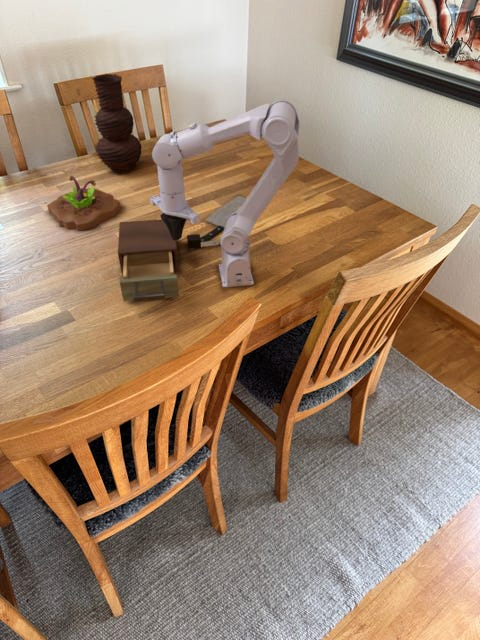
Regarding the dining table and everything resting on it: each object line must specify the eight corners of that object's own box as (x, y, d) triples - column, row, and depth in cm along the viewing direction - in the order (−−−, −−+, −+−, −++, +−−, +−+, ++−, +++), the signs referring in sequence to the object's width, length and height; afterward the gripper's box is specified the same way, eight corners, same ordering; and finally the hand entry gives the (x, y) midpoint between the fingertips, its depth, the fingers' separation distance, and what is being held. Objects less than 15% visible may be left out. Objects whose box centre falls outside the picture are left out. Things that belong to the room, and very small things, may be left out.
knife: (188, 249, 129) (187, 240, 127) (187, 243, 131) (186, 235, 128) (219, 246, 130) (219, 237, 128) (218, 240, 132) (218, 232, 129)
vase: (92, 175, 161) (71, 82, 141) (113, 157, 172) (97, 68, 151) (132, 181, 158) (117, 88, 137) (151, 162, 169) (140, 73, 148)
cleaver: (177, 234, 135) (203, 246, 130) (177, 232, 134) (203, 244, 130) (238, 196, 152) (263, 205, 147) (238, 194, 151) (263, 204, 147)
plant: (90, 189, 154) (83, 156, 146) (129, 209, 145) (123, 175, 137) (38, 213, 142) (26, 179, 135) (76, 236, 134) (67, 201, 126)
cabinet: (179, 272, 122) (176, 248, 117) (122, 277, 120) (117, 253, 115) (175, 241, 132) (173, 218, 127) (124, 245, 130) (119, 222, 125)
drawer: (180, 312, 109) (178, 293, 105) (122, 317, 108) (118, 298, 104) (175, 263, 123) (173, 245, 119) (124, 267, 121) (121, 249, 117)
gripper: (206, 192, 106) (209, 241, 116) (162, 173, 113) (167, 222, 122) (185, 204, 102) (189, 254, 112) (140, 184, 109) (148, 233, 118)
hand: (177, 238), depth 117 cm, fingers closed
